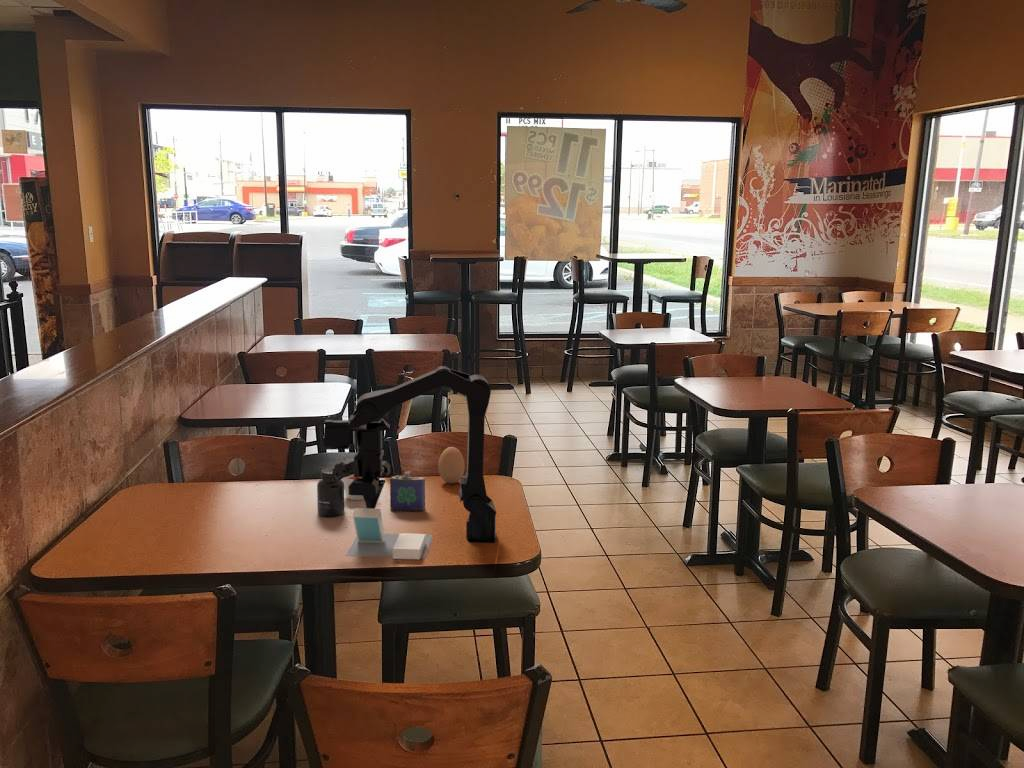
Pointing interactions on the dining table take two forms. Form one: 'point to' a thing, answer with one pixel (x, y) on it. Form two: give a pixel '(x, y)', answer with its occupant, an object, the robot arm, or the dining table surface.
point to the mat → (381, 547)
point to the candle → (347, 482)
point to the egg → (451, 465)
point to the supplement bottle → (330, 495)
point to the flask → (407, 493)
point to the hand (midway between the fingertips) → (370, 512)
